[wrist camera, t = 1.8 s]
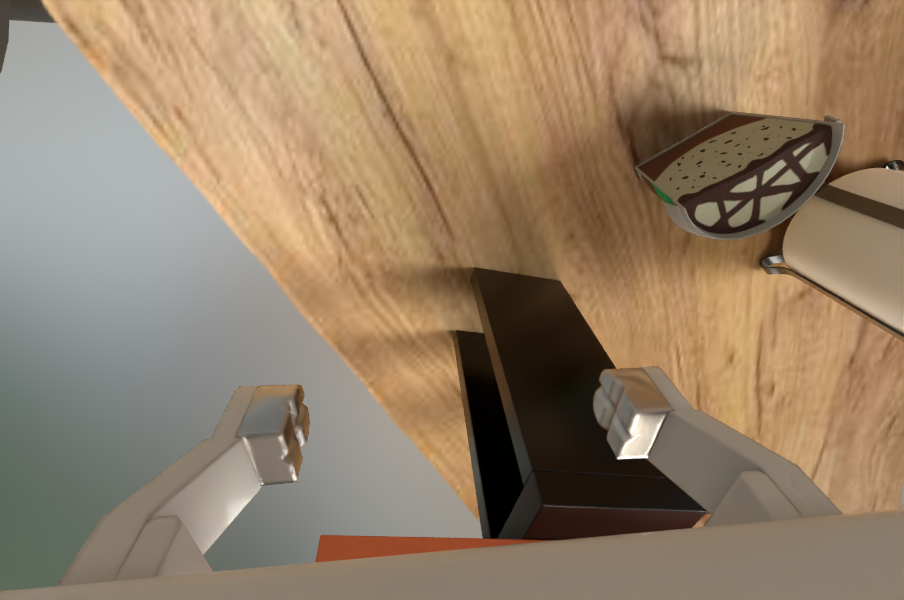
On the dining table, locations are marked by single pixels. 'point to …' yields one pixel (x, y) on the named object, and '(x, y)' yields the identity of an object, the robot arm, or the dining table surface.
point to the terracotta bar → (398, 545)
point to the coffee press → (852, 244)
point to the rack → (549, 423)
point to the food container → (743, 172)
